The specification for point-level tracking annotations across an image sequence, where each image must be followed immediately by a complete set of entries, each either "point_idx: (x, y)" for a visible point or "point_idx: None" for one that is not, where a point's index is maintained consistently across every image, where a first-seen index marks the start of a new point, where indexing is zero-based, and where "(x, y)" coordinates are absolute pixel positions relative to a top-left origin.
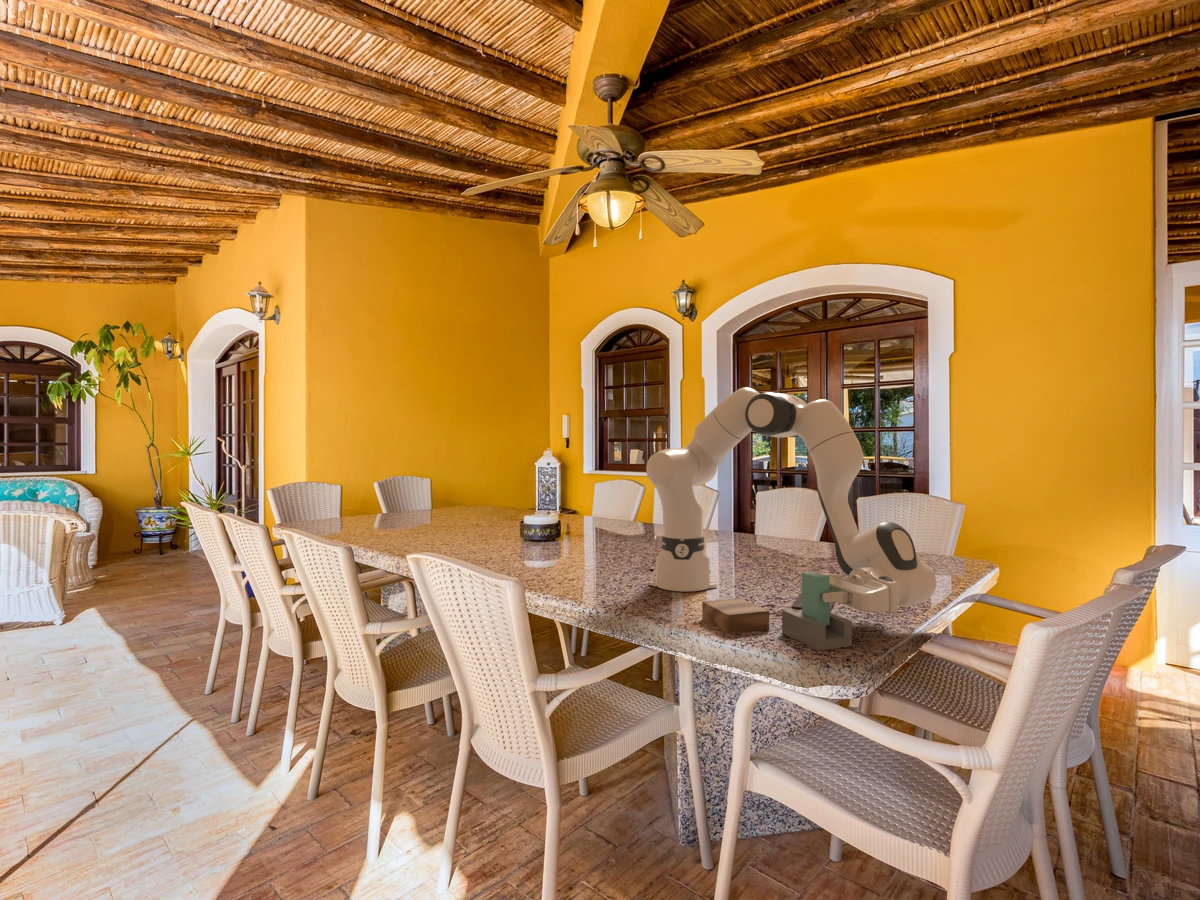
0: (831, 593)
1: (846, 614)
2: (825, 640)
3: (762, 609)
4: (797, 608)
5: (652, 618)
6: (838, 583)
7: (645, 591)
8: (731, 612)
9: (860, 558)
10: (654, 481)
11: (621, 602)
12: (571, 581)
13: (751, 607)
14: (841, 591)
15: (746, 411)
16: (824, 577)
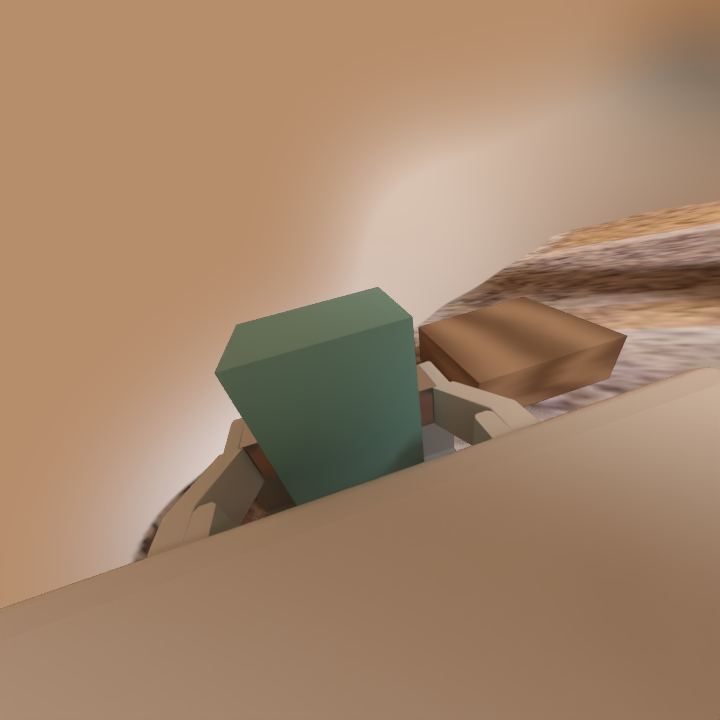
0: (224, 453)
1: None
2: (268, 513)
3: (490, 371)
4: None
5: (490, 294)
6: (333, 558)
7: (702, 264)
8: (440, 329)
9: None
10: None
11: (572, 266)
12: (671, 225)
13: (505, 353)
14: (193, 526)
15: None
16: (228, 354)
